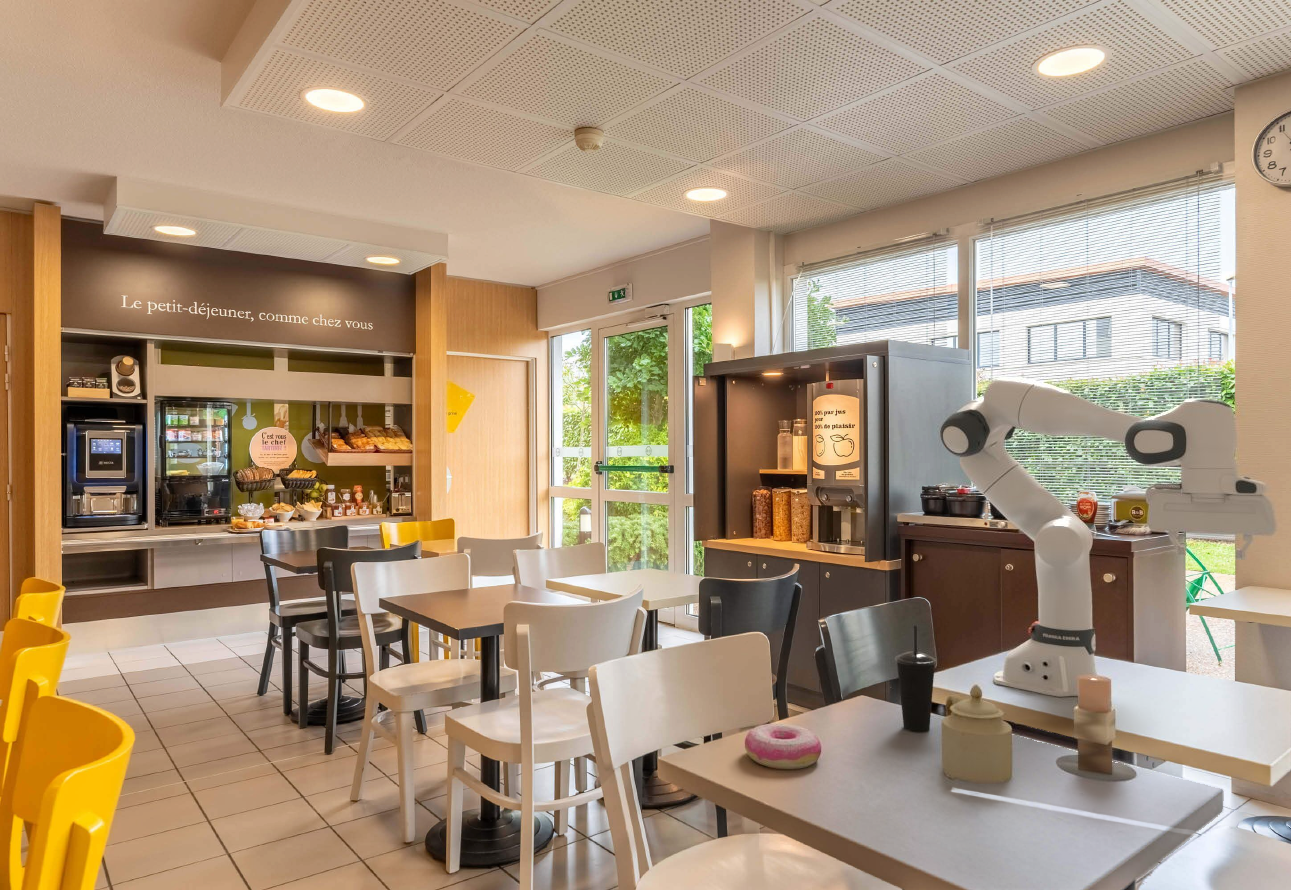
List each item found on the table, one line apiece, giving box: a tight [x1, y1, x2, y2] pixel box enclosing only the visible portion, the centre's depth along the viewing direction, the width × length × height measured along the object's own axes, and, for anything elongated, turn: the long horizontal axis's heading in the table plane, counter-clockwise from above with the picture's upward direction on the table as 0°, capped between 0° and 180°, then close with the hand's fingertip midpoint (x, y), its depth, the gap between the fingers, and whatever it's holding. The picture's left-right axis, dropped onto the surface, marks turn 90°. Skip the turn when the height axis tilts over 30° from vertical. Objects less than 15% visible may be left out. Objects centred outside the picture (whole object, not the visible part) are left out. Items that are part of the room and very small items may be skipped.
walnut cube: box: [1077, 739, 1113, 775], centre depth 140 cm, size 5×5×5 cm
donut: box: [744, 722, 822, 770], centre depth 147 cm, size 14×13×5 cm
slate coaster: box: [1055, 754, 1138, 782], centre depth 140 cm, size 12×12×1 cm
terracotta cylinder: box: [1077, 674, 1112, 713], centre depth 140 cm, size 5×5×5 cm
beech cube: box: [1073, 705, 1117, 745], centre depth 140 cm, size 5×5×5 cm
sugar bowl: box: [941, 684, 1013, 784], centre depth 141 cm, size 15×11×15 cm
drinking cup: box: [894, 625, 937, 733], centre depth 163 cm, size 8×8×20 cm
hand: (1210, 557), depth 156 cm, fingers open, 8 cm apart
